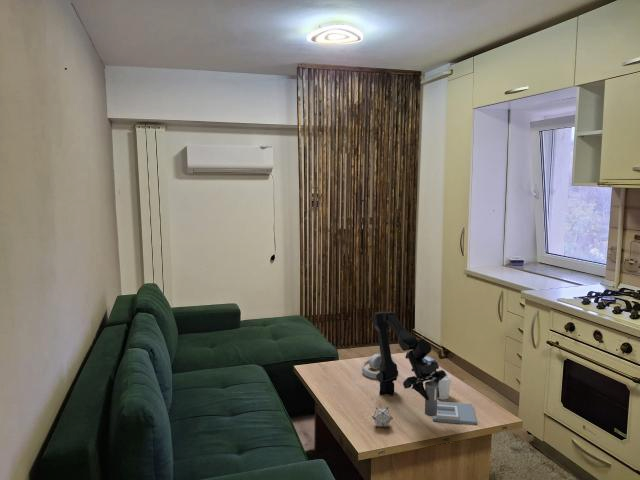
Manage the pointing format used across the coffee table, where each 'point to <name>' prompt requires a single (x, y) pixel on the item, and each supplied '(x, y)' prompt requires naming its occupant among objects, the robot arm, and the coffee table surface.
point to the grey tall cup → (431, 398)
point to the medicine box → (428, 361)
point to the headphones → (373, 365)
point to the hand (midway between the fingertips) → (433, 398)
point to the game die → (382, 417)
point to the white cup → (444, 387)
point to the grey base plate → (455, 413)
